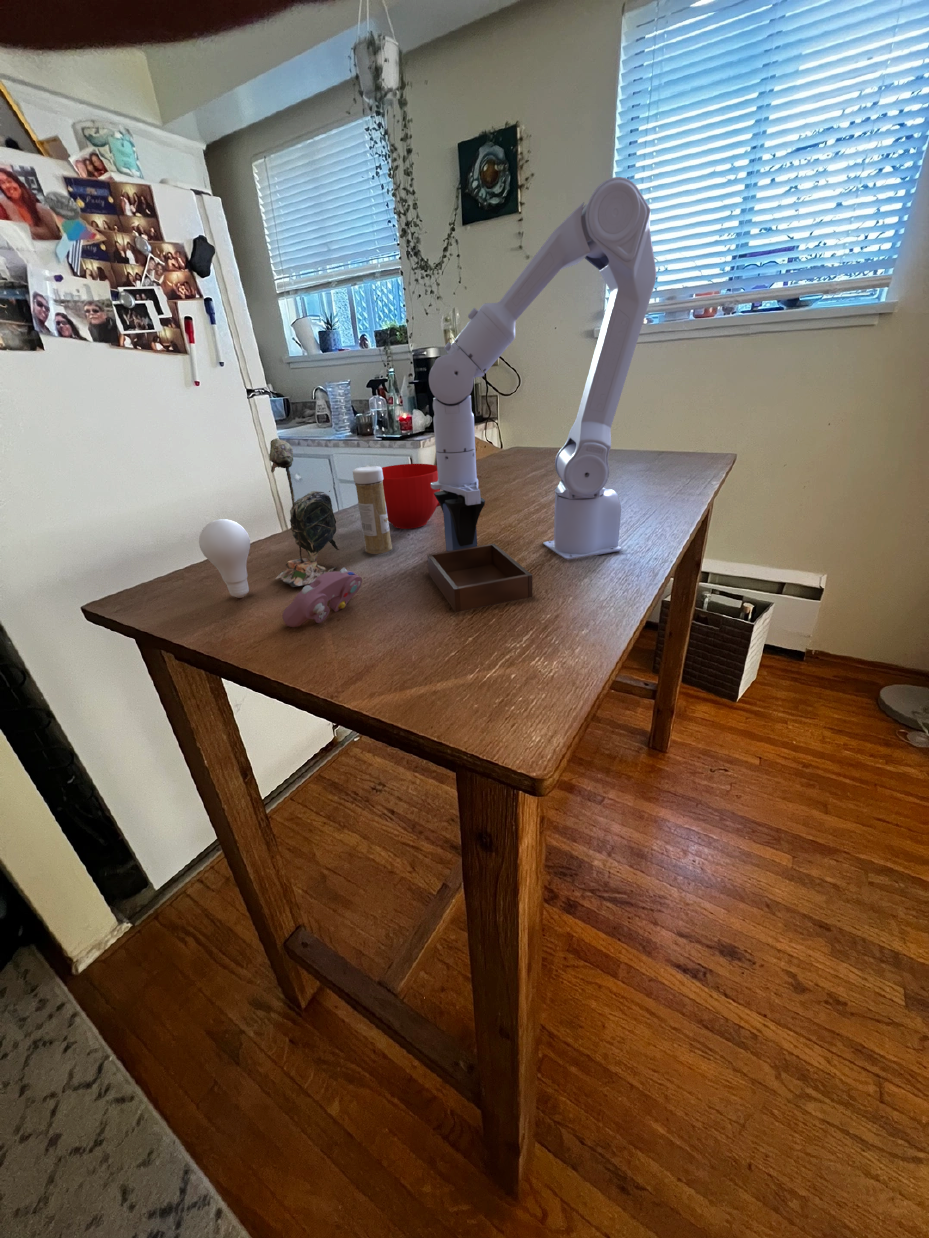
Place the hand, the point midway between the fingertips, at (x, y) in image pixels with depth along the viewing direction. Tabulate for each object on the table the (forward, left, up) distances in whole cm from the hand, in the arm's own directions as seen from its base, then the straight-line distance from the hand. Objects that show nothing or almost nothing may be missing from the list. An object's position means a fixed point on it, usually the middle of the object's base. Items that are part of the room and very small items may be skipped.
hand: (461, 540), depth 78 cm
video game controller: (+22, +13, -3) cm, 26 cm away
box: (+2, +13, -2) cm, 13 cm away
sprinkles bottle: (+12, -8, -3) cm, 15 cm away
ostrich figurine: (+23, -2, -3) cm, 23 cm away
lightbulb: (+33, +2, -3) cm, 33 cm away
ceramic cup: (+2, -20, -3) cm, 20 cm away
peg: (0, 0, -2) cm, 2 cm away
